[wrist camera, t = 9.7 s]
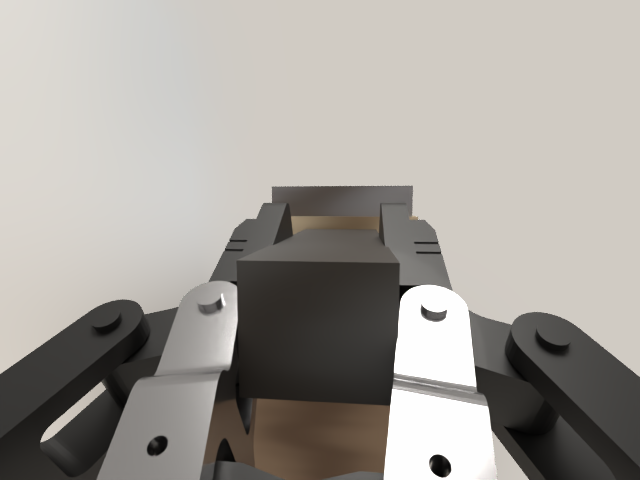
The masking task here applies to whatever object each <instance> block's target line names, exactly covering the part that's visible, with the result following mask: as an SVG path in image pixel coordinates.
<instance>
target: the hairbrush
mask: <svg viewBox="0 0 640 480" xmlns="http://www.w3.org/2000/svg"><path fill="white" fill-rule="evenodd" d="M412 194H413V186H321V187H319V186H318V187H317V186H314V187H313V186H310V187H272V203H288V204H289V206H290V212H291V221H292V230H293V236H292V237H289V238H287V239H285V240H283V241H281V242H279V243H277V244H275V245H269V246H267V247H265V248H263V249H260V250H258V251H256V252H254V253H252V254H249V255H247V256H245V257H243V258H241V259H238V260H236V265H237V310H238V356H239V398H256V399H275V400H293V401H311V402H330V403H348V404H366V405H384V406H391V397H392V387H393V376H394V366H395V356H396V346H397V339H398V333H399V283H400V262H399V261H398V260H397V258H396V257H395V255H394V254H393V252H392V251H391V250H390V248H389V247H385V246H384V244H383V243H382V241H381V239H380V238H379V220H380V204H381V203H406V204H407V209H408V214H409V219H410V220H418V217H416V216H412V196H413V195H412Z"/></svg>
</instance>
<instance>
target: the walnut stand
mask: <svg viewBox="0 0 640 480" xmlns="http://www.w3.org/2000/svg"><path fill="white" fill-rule="evenodd" d="M389 414H390V406H384V405H366V404H348V403H330V402H311V401H293V400H275V399H257V405H256V417H255V429H254V460H255V468H257V469H259V470H262V471H265V472H267V473H270V474H272V475H275V476H277V477H280V478H282V479H285V480H322V479H327V478H331V477H336V476H340V475H345V474H350V473H354V472H359V471H363V472H377V473H384V465H385V455H386V445H387V435H388V424H389Z"/></svg>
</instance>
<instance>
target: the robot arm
mask: <svg viewBox="0 0 640 480" xmlns="http://www.w3.org/2000/svg"><path fill="white" fill-rule="evenodd" d="M292 236H293V230H292V221H291V212H290V206H289V204H288V203H264V204H263V205H262V207H261V209H260V212H259V214H258V216H257V219H246V220H245V221H244V222H243V223H241V224H240V225H239V226H238V227H236V228H235V230H234V232H233V234H232V236H231V238H230V242H228V244H227V246H226V248H225V251H224V252H223V254H222V256H221V258H220V260H219V262H218V264H217V266H216V268H215V270H214V272H213V274H212V276H211V278H210V280H209V282H207V283H204V284H201V285H199V286H197V287H195V288H193V289H192V290H191V291H189V292H188V293H187V294H186V295H185V296H184V297H183V299H182V300H181V303H180V305H179V307H176V308H173V309H168V310H164V311H159V312H154V313H150V314H145V315H144V312H143V310H142V309H141V307H140V305H139V304H138V303H136V302H134V301H131V300H116V301H111V302H108V303H105V304H103V305H100V306H98V307H96V308H94V309H93V310H91V311H90V312H88V313H87V314H85V315H84V316H83V317H81V318H80V319H78V320H77V321H76V322H74V323H73V324H71V325H70V326H68V327H67V328H65V329H64V330H63V331H61V332H60V333H58V334H57V335H55V336H54V337H53V338H51V339H50V340H48V341H47V342H45V343H44V344H43V345H41V346H40V347H38V348H37V349H36V350H34V351H33V352H31V353H30V354H28V355H27V356H26V357H24V358H23V359H21V360H20V361H19V362H17V363H16V364H14V365H13V366H11V367H10V368H9V369H7V370H6V371H4V372H3V373H1V374H0V480H285V479H282V478H280V477H277V476H275V475H272V474H270V473H267V472H265V471H262V470H259V469H257V468H255V460H254V429H255V417H256V405H257V399H256V398H239V356H238V310H237V265H236V260H238V259H241V258H243V257H245V256H247V255H249V254H252V253H254V252H256V251H258V250H260V249H263V248H265V247H267V246H269V245H275V244H277V243H279V242H281V241H283V240H285V239H287V238H289V237H292ZM379 238H380V239H381V241H382V243H383V244H384V246H385V247H389V248H390V250H391V251H392V252H393V254H394V255H395V257H396V258H397V260H398V261H399V262H400V283H399V333H398V339H397V346H396V356H395V366H394V376H393V387H392V397H391V406H390V414H389V424H388V435H387V445H386V455H385V465H384V473H377V472H363V471H359V472H354V473H350V474H345V475H340V476H336V477H331V478H327V479H322V480H497V472H496V464H495V457H494V449H493V441H492V433H491V430H492V431H493V432H494V433H495V435H496V436H497V438H498V439H499V440H500V442H501V443H502V444H503V445H504V447H505V448H506V450H507V451H508V452H509V453H510V455H511V456H512V457H513V459H514V460H515V461H516V463H517V464H518V465H519V467H520V468H521V469H522V471H523V472H524V473H525V475H526V476H527V477H528V479H529V480H640V377H639V376H637V375H636V374H635V373H634V372H633V371H631V370H630V369H629V368H628V367H626V366H625V365H624V364H623V363H622V362H620V361H619V360H618V359H617V358H615V357H614V356H613V355H612V354H610V353H609V352H608V351H607V350H605V349H604V348H603V347H601V346H600V345H599V344H598V343H597V342H595V341H594V340H593V339H592V338H591V337H589V336H588V335H587V334H586V333H584V332H583V331H582V330H581V329H579V328H578V327H577V326H575V325H574V324H572V323H571V322H569V321H567V320H565V319H562V318H561V317H558V316H555V315H552V314H548V313H541V312H532V313H526V314H523V315H521V316H519V317H518V318H516V319H515V320H514V322H513V324H512V325H510V324H506V323H502V322H499V321H495V320H491V319H487V318H485V317H481V316H479V315H477V314H475V313H473V312H471V311H469V310H468V308H467V306H466V304H465V302H464V301H463V300H462V299H461V298H460V297H459V296H458V295H457V294H455V293H454V292H453V291H452V287H451V284H450V281H449V277H448V274H447V270H446V267H445V263H444V260H443V256H442V254H441V249H440V246H439V244H438V239H437V236H436V232H435V230H434V229H433V228H432V227H431V226H430V225H429V224H428V223H427V222H426V221H425V220H410V219H409V214H408V209H407V204H406V203H381V204H380V220H379ZM100 382H102V383H103V385H104V386H105V388H106V390H105V391H104V392H103V393H102V394H101V395H99V396H98V397H97V398H96V399H95V400H94V401H93V402H91V403H90V404H89V405H88V406H87V407H86V408H85V409H84V410H82V411H81V412H80V413H79V414H78V415H77V416H76V417H75V418H74V419H72V420H71V421H70V422H69V423H68V424H67V425H66V426H64V427H63V428H62V429H61V430H60V431H59V432H58V433H57V434H55V435H54V436H53V437H52V438H50V439H48V440H47V441H44V442H41V443H40V440H41V438H42V436H43V434H44V432H45V431H46V429H47V428H48V427H49V426H50V425H51V424H52V423H53V422H54V421H56V420H57V419H58V418H59V417H60V416H61V415H63V414H64V413H65V412H66V411H67V410H68V409H69V408H71V407H72V406H73V405H74V404H75V403H76V402H77V401H79V400H80V399H81V398H82V397H83V396H85V395H86V394H87V393H88V392H89V391H90V390H91V389H93V388H94V387H95V386H96V385H97V384H99V383H100Z"/></svg>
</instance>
